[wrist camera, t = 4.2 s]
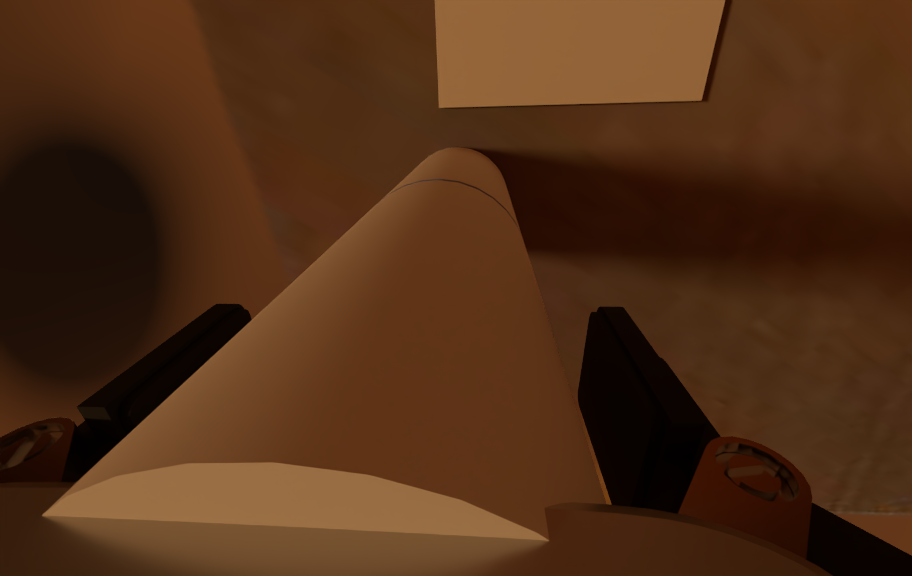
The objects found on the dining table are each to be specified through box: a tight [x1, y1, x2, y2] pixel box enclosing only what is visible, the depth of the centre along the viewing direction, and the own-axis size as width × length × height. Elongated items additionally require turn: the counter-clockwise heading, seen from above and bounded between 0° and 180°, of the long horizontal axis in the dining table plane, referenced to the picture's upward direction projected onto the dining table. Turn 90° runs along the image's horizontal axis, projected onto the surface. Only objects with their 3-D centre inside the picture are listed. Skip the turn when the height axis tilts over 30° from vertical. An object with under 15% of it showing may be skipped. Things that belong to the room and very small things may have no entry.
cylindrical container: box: [42, 147, 606, 541], centre depth 16 cm, size 7×7×25 cm
